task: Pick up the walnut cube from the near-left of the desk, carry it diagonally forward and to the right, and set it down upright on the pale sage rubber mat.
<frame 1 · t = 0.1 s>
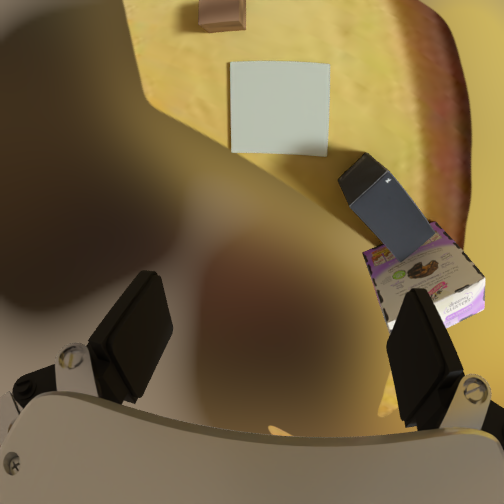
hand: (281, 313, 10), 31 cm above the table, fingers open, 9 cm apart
mat: (279, 106, 34), on the table
cube: (227, 16, 28), on the table
candy box: (403, 249, 41), on the table
small box: (373, 191, 38), on the table
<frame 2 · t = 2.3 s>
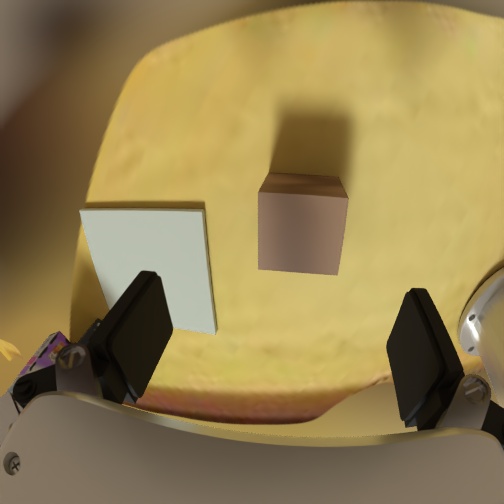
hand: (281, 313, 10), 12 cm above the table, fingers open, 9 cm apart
mat: (147, 271, 26), on the table
cube: (301, 207, 21), on the table
candy box: (81, 360, 40), on the table
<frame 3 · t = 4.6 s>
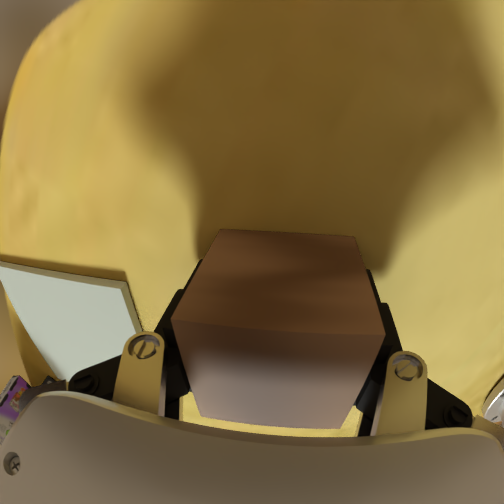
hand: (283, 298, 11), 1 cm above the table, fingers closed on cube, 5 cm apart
mat: (80, 344, 17), on the table
cube: (284, 287, 12), on the table, touching gripper
candy box: (47, 403, 30), on the table
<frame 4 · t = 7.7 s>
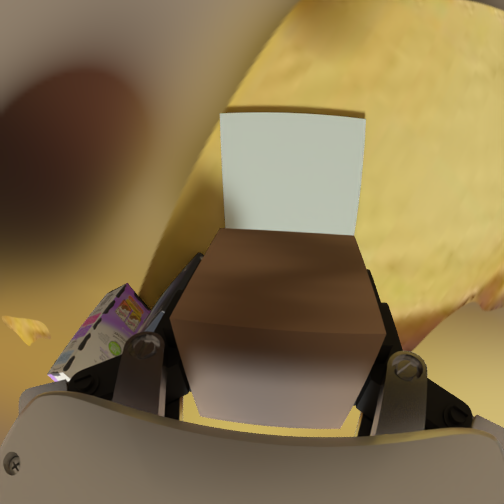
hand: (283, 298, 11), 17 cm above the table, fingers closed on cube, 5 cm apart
mat: (291, 181, 26), on the table
cube: (284, 286, 12), point 17 cm above the table, touching gripper
candy box: (146, 321, 39), on the table
small box: (196, 290, 35), on the table
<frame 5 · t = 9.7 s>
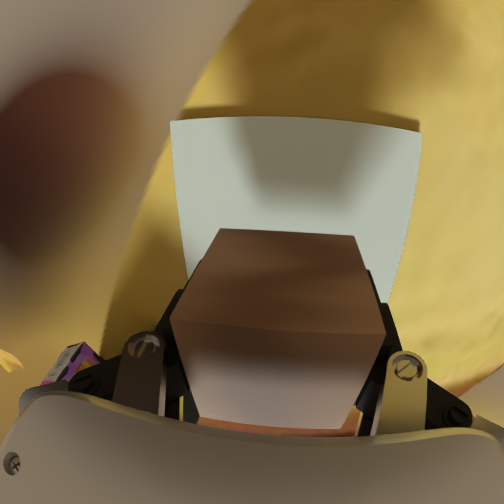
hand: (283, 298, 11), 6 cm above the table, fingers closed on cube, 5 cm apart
mat: (293, 233, 16), on the table
cube: (284, 287, 12), point 5 cm above the table, touching gripper
candy box: (114, 379, 29), on the table
small box: (164, 360, 25), on the table
when the fingers open (3 cm above the table, at t = 11.1 s): cube drops 2 cm, resting on mat.
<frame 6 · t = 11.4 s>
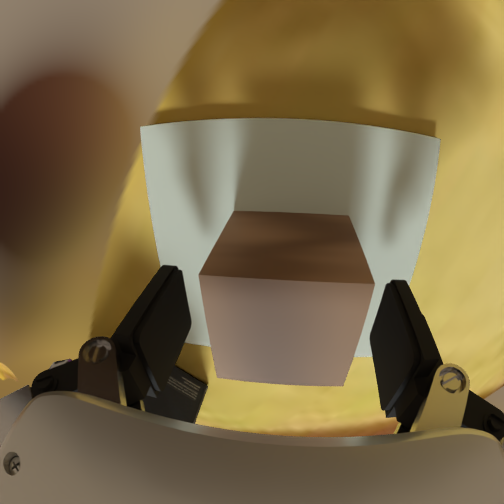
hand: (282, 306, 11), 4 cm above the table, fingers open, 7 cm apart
mat: (286, 256, 14), on the table
cube: (289, 262, 13), point 1 cm above the table, touching mat
small box: (152, 381, 22), on the table
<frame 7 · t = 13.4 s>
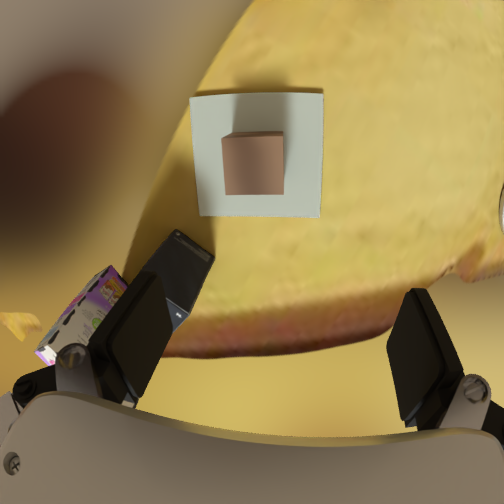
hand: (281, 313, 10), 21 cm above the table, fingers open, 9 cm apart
mat: (257, 155, 28), on the table
cube: (258, 155, 27), point 1 cm above the table, touching mat
candy box: (130, 303, 40), on the table
small box: (175, 267, 36), on the table
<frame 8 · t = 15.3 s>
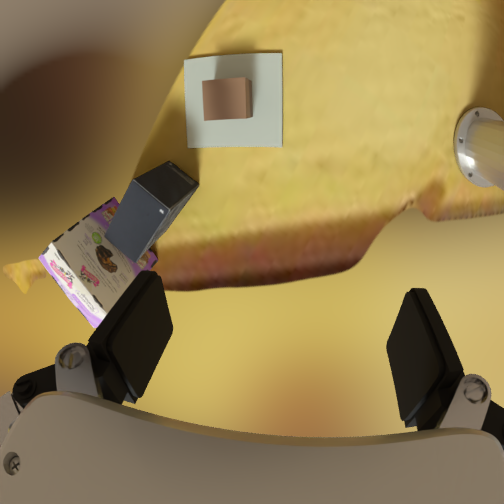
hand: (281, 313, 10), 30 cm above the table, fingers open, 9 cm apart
mat: (232, 100, 33), on the table
cube: (233, 99, 33), point 1 cm above the table, touching mat
candy box: (127, 234, 47), on the table
small box: (166, 196, 42), on the table
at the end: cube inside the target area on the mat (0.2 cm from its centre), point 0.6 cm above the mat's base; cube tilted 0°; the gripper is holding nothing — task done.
